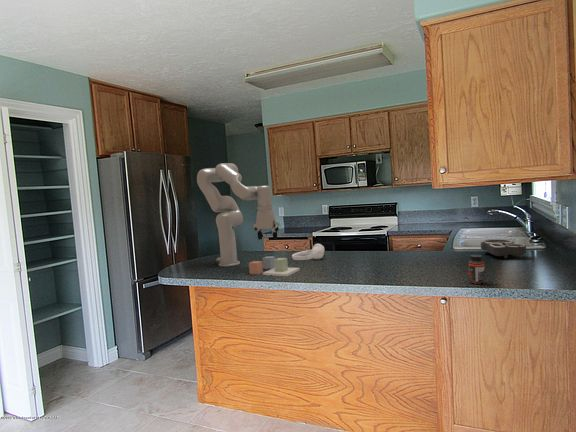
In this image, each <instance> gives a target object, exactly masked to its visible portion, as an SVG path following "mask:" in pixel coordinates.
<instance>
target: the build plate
mask: <svg viewBox="0 0 576 432" xmlns="http://www.w3.org/2000/svg"><path fill="white" fill-rule="evenodd" d="M274 267H275V268H272V269H267V270H266V271H263V273H262V275H263V276H271V275H272V277H273V276H276V277H289V276H291V275H292V274H295V273H297V272H299V271H301V270H300V267H289V266H288V257H278V258H275V260H274Z"/></svg>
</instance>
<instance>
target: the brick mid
mask: <svg viewBox="0 0 576 432" xmlns="http://www.w3.org/2000/svg"><path fill="white" fill-rule="evenodd" d="M275 259H276V256H272V255H271V256H270V255H269V256H267V255H266V256H264V257H262V266H263V270H271V269H273V268H275V267H274V260H275Z"/></svg>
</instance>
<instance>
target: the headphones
mask: <svg viewBox="0 0 576 432" xmlns="http://www.w3.org/2000/svg"><path fill="white" fill-rule="evenodd" d="M324 254H325V246H324V245H322V244H321V243H315V244H314V245H313V246H312V249H308V250H303V251H299V252H295V253H293V254H292V255H291V258H292V260H293V261H304V260H305V261H306V260H307V261H309V260H311V259H314V260H321V259H322V258H324Z"/></svg>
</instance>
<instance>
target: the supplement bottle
mask: <svg viewBox="0 0 576 432" xmlns="http://www.w3.org/2000/svg"><path fill="white" fill-rule="evenodd" d="M482 258H483V257H482V255H481V254H471V255H470V260H468V281H469V283H470V284H472V283H474V284H473V285H482V284H481V283H483V284H485V281H486V275H485V274H486V273H485V272H486V271H485V261H484V260H483V259H482Z"/></svg>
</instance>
